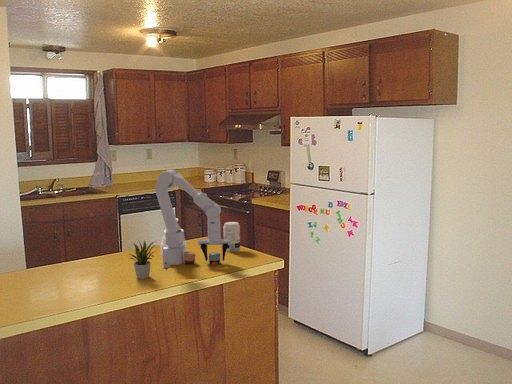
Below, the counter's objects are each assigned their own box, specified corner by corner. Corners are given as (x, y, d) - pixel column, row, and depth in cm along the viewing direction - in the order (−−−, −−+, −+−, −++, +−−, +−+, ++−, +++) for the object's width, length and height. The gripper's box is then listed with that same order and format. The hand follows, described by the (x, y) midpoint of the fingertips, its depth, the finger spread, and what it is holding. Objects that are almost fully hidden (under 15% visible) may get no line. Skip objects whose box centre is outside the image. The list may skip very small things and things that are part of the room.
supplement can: (221, 251, 249) (220, 222, 246) (236, 249, 252) (236, 220, 250) (227, 255, 241) (226, 225, 239) (242, 253, 245) (242, 223, 242)
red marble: (211, 267, 222) (211, 261, 221) (212, 265, 225) (211, 259, 224) (217, 267, 222) (217, 261, 221) (218, 265, 224) (218, 259, 224)
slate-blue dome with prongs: (208, 268, 221) (208, 255, 220) (210, 265, 226) (209, 252, 225) (219, 268, 220) (219, 255, 220) (221, 265, 225) (220, 252, 225)
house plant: (168, 273, 215) (167, 236, 212) (153, 283, 202) (152, 244, 199) (139, 270, 219) (137, 234, 216) (122, 280, 205) (120, 242, 203)
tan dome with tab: (183, 268, 221) (183, 255, 220) (185, 265, 226) (185, 252, 225) (194, 268, 221) (194, 255, 220) (196, 265, 226) (195, 252, 225)
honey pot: (192, 252, 247) (191, 217, 245) (175, 258, 237) (173, 222, 234) (173, 249, 254) (171, 214, 252) (155, 254, 243) (154, 219, 241)
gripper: (196, 233, 217) (197, 262, 219) (229, 232, 216) (230, 262, 218) (199, 229, 224) (200, 258, 226) (230, 229, 223) (231, 258, 225)
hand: (215, 260), depth 223 cm, fingers open, 7 cm apart
